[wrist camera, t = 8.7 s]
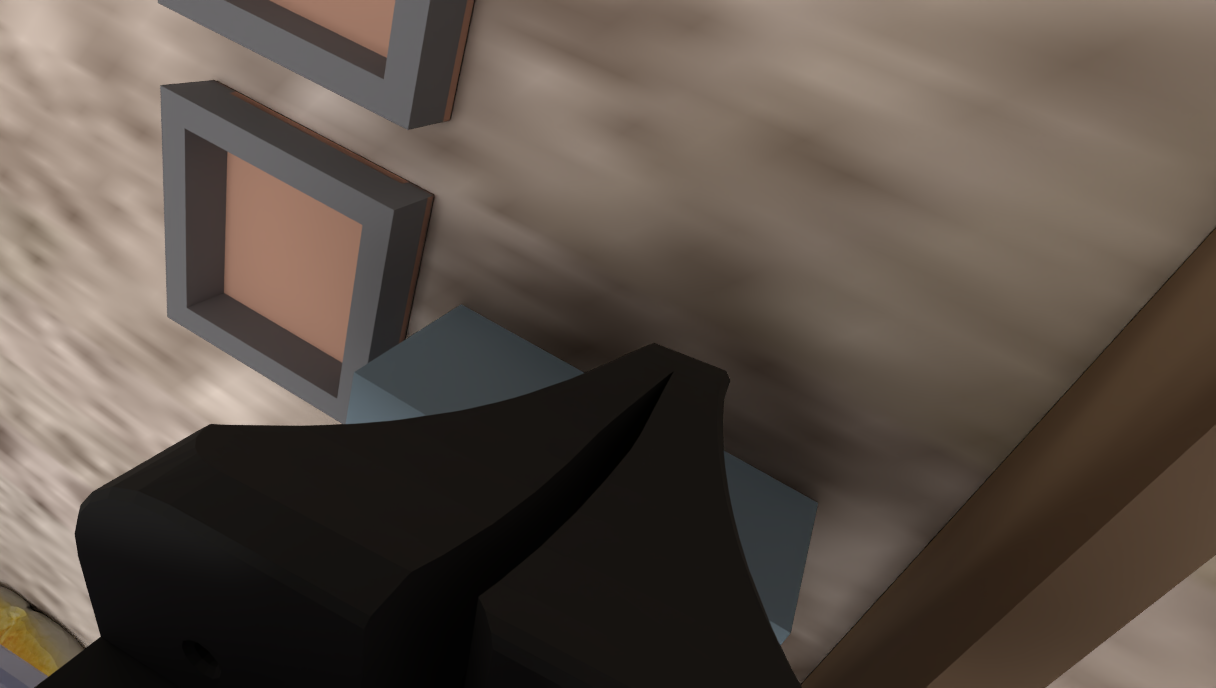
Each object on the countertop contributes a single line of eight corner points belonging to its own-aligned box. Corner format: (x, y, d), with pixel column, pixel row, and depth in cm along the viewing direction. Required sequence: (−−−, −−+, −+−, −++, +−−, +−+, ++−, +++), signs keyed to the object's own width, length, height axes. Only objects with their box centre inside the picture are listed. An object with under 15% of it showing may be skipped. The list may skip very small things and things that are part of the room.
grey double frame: (528, -264, 9) (481, -296, 8) (391, 406, 16) (355, 431, 15) (220, -379, 10) (144, -422, 9) (211, 299, 17) (167, 316, 16)
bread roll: (-31, 550, 32) (-143, 614, 28) (111, 648, 30) (9, 728, 26) (5, 653, 36) (-88, 719, 33) (131, 744, 34) (45, 823, 31)
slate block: (819, 493, 13) (790, 633, 10) (665, 704, 17) (612, 845, 14) (469, 298, 14) (353, 372, 11) (406, 539, 18) (310, 637, 16)
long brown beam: (1690, -125, 6) (2203, -215, 4) (722, 831, 18) (690, 964, 15) (605, -460, 8) (468, -665, 6) (367, 596, 20) (287, 681, 17)
